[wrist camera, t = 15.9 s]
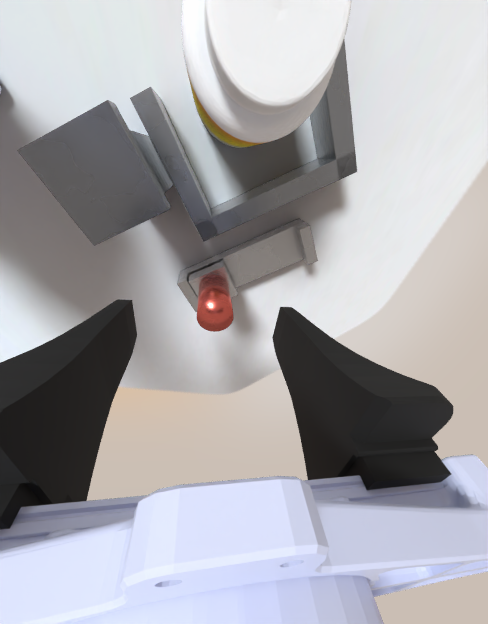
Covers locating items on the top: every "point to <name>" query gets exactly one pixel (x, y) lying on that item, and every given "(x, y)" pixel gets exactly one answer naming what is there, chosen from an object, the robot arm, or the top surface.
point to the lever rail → (258, 257)
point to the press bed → (174, 166)
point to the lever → (214, 296)
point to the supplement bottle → (260, 63)
